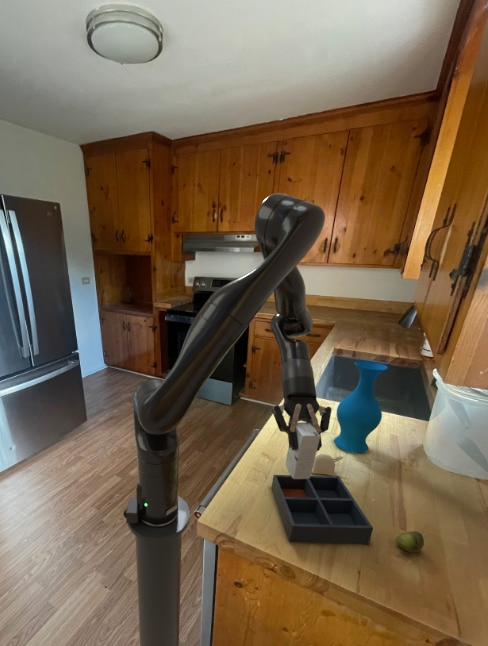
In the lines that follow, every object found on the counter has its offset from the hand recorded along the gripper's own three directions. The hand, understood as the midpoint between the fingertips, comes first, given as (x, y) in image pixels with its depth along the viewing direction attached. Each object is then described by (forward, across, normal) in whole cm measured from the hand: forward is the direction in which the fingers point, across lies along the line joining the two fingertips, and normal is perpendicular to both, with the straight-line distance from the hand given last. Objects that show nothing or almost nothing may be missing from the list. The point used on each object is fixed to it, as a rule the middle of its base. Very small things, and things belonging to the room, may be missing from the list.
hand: (305, 449), depth 75 cm
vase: (-8, +26, +32) cm, 42 cm away
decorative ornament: (+2, +12, +22) cm, 25 cm away
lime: (+20, +21, +3) cm, 29 cm away
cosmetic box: (+4, 0, +7) cm, 8 cm away
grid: (+13, +4, +10) cm, 17 cm away
